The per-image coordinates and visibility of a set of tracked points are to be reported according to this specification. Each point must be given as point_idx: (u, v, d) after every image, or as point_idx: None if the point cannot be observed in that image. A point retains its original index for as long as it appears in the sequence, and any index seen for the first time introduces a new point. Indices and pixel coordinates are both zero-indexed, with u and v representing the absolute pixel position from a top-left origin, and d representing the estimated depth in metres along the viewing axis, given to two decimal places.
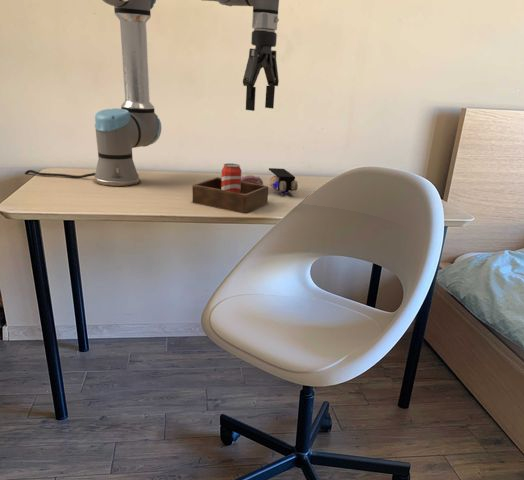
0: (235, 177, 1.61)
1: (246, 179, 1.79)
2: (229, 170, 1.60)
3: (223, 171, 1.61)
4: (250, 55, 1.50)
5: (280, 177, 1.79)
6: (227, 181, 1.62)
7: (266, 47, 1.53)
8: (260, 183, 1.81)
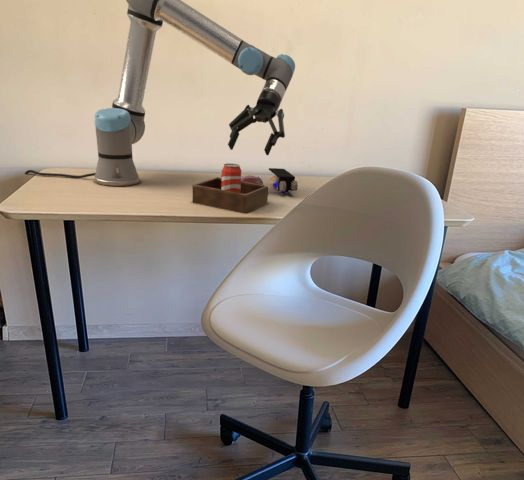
0: (235, 177, 1.61)
1: (246, 179, 1.79)
2: (229, 170, 1.60)
3: (223, 171, 1.61)
4: None
5: (280, 177, 1.79)
6: (227, 181, 1.62)
7: (264, 105, 1.71)
8: (260, 183, 1.81)
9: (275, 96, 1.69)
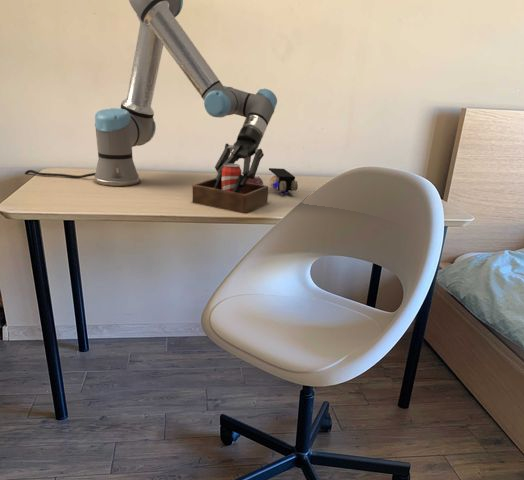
0: (235, 177, 1.61)
1: None
2: (229, 170, 1.60)
3: (223, 171, 1.61)
4: None
5: (280, 177, 1.79)
6: (227, 181, 1.62)
7: (245, 141, 1.66)
8: (260, 183, 1.81)
9: (256, 132, 1.65)
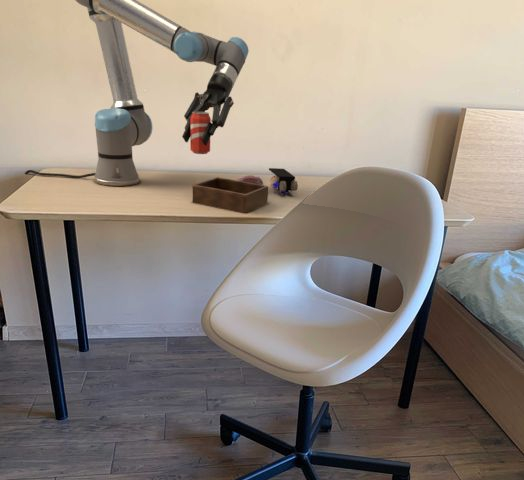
0: (204, 125, 1.59)
1: (246, 179, 1.79)
2: (198, 117, 1.58)
3: (192, 118, 1.59)
4: None
5: (280, 177, 1.79)
6: (195, 129, 1.60)
7: (215, 90, 1.64)
8: (260, 183, 1.81)
9: (225, 80, 1.62)
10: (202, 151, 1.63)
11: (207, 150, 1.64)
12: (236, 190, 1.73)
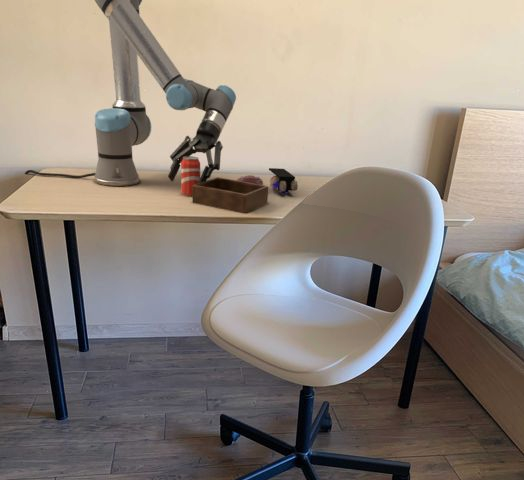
0: (194, 170, 1.68)
1: (246, 179, 1.79)
2: (188, 163, 1.66)
3: (182, 163, 1.68)
4: None
5: (280, 177, 1.79)
6: (186, 173, 1.68)
7: (204, 136, 1.72)
8: (260, 183, 1.81)
9: (214, 127, 1.71)
10: (192, 193, 1.71)
11: None
12: (236, 190, 1.73)
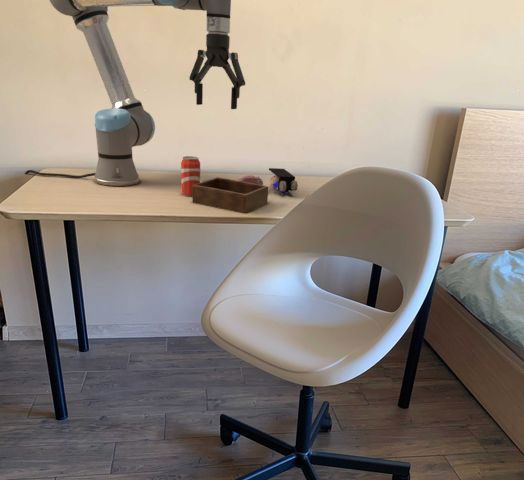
0: (194, 170, 1.68)
1: (246, 179, 1.79)
2: (188, 163, 1.66)
3: (182, 163, 1.68)
4: None
5: (280, 177, 1.79)
6: (186, 173, 1.68)
7: (215, 48, 1.64)
8: (260, 183, 1.81)
9: (222, 38, 1.61)
10: (192, 193, 1.71)
11: None
12: (236, 190, 1.73)
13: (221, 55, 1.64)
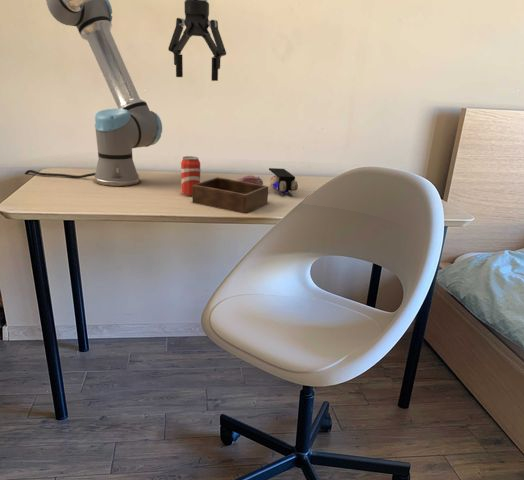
0: (194, 170, 1.68)
1: (246, 179, 1.79)
2: (188, 163, 1.66)
3: (182, 163, 1.68)
4: None
5: (280, 177, 1.79)
6: (186, 173, 1.68)
7: (194, 16, 1.57)
8: (260, 183, 1.81)
9: (200, 4, 1.53)
10: (192, 193, 1.71)
11: None
12: (236, 190, 1.73)
13: (200, 23, 1.57)
